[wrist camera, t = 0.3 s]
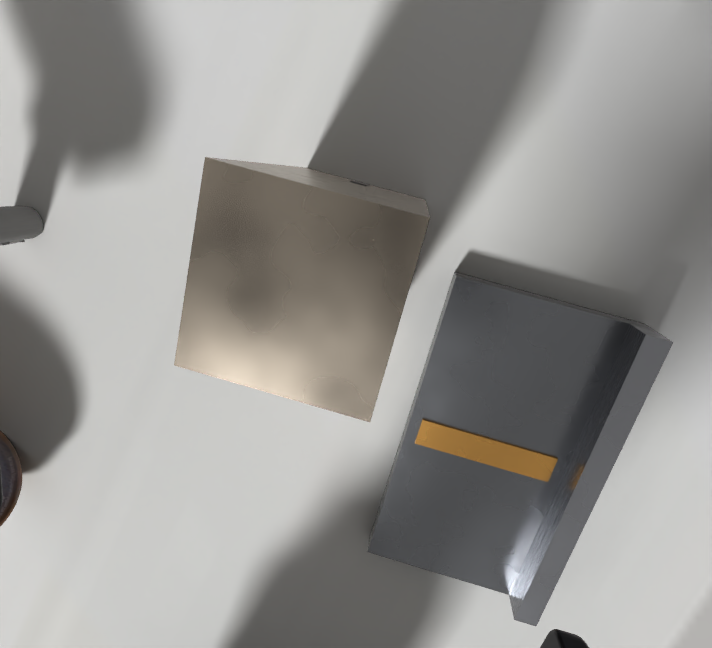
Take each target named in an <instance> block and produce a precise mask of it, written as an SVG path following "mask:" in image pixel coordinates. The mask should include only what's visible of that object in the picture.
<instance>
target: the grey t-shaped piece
mask: <svg viewBox="0 0 712 648" xmlns="http://www.w3.org/2000/svg"><path fill="white" fill-rule="evenodd" d="M42 231H43V222H42V219H41V217H40V215H39V214H38V213H37V211H36V210H34V209H33V208H31V207H26V206H6V207H0V245H6V244H13V243H17V242H25V241H24V239H30V238H34V237H36V236H38V235H39V234H41V233H42Z"/></svg>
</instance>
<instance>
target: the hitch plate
mask: <svg viewBox="0 0 712 648" xmlns="http://www.w3.org/2000/svg"><path fill="white" fill-rule="evenodd" d="M672 344H673V342H672V341H670V340H669V339H667V338H666V337H664V336H663V335H661V334H660V333H658V332H656V331H655V330H653V329H652V328H650V327H649V326H647V325H645V324H643V323H640V322H636V321H632V320H629V319H625V318H621V317H618V316H614V315H610V314H607V313H603V312H599V311H596V310H592V309H588V308H585V307H581V306H577V305H574V304H570V303H566V302H563V301H559V300H556V299H552V298H548V297H545V296H541V295H537V294H534V293H530V292H526V291H523V290H519V289H515V288H512V287H508V286H504V285H501V284H497V283H493V282H490V281H486V280H482V279H479V278H475V277H471V276H468V275H464V274H460V273H457V272H454V275H453V279H452V282H451V285H450V288H449V291H448V294H447V297H446V300H445V304H444V307H443V310H442V313H441V316H440V319H439V322H438V325H437V329H436V332H435V335H434V338H433V341H432V344H431V347H430V350H429V354H428V357H427V360H426V363H425V366H424V369H423V372H422V375H421V379H420V382H419V385H418V388H417V391H416V394H415V397H414V400H413V404H412V407H411V410H410V413H409V416H408V419H407V422H406V425H405V429H404V432H403V435H402V438H401V441H400V444H399V447H398V450H397V454H396V457H395V460H394V463H393V466H392V469H391V472H390V475H389V479H388V482H387V485H386V488H385V491H384V494H383V497H382V500H381V504H380V507H379V510H378V513H377V516H376V519H375V522H374V525H373V529H372V532H371V535H370V538H369V546H368V552H370V553H373V554H376V555H380V556H383V557H386V558H390V559H393V560H396V561H399V562H403V563H406V564H409V565H413V566H416V567H419V568H423V569H426V570H429V571H432V572H436V573H439V574H442V575H446V576H449V577H452V578H456V579H459V580H462V581H465V582H469V583H472V584H475V585H479V586H482V587H485V588H489V589H492V590H495V591H498V592H502V593H505V594H508V595H509V597H510V602H511V606H512V611H513V616H514V620H517V621H520V622H524V623H527V624H530V625H533V626H537V624H538V621H539V619H540V617H541V615H542V613H543V611H544V609H545V607H546V605H547V603H548V601H549V599H550V597H551V594H552V592H553V590H554V588H555V586H556V584H557V582H558V580H559V578H560V576H561V574H562V572H563V570H564V568H565V565H566V563H567V561H568V559H569V557H570V555H571V553H572V551H573V549H574V547H575V545H576V543H577V541H578V538H579V536H580V534H581V532H582V530H583V528H584V526H585V524H586V522H587V520H588V518H589V516H590V514H591V512H592V509H593V507H594V505H595V503H596V501H597V499H598V497H599V495H600V493H601V491H602V489H603V487H604V485H605V483H606V480H607V478H608V476H609V474H610V472H611V470H612V468H613V466H614V464H615V462H616V460H617V458H618V456H619V453H620V451H621V449H622V447H623V445H624V443H625V441H626V439H627V437H628V435H629V433H630V431H631V429H632V427H633V424H634V422H635V420H636V418H637V416H638V414H639V412H640V410H641V408H642V406H643V404H644V402H645V400H646V398H647V395H648V393H649V391H650V389H651V387H652V385H653V383H654V381H655V379H656V377H657V375H658V373H659V371H660V368H661V366H662V364H663V362H664V360H665V358H666V356H667V354H668V352H669V350H670V348H671V346H672Z"/></svg>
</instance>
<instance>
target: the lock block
mask: <svg viewBox="0 0 712 648" xmlns="http://www.w3.org/2000/svg"><path fill="white" fill-rule="evenodd" d="M429 220H430V215H429V211H428V208H427V204H426V200H425V199H421V198H418V197H414V196H410V195H406V194H403V193H399V192H395V191H391V190H388V189H384V188H380V187H376V186H373V185H369V184H366V183H362V182H358V181H354V180H350V179H346V178H343V177H339V176H335V175H332V174H328V173H324V172H320V171H317V170H313V169H309V168H303V167H293V166H284V165H274V164H265V163H256V162H246V161H237V160H227V159H218V158H208V157H205V162H204V168H203V175H202V182H201V188H200V195H199V202H198V209H197V215H196V222H195V229H194V236H193V242H192V249H191V256H190V262H189V269H188V276H187V283H186V289H185V296H184V303H183V310H182V316H181V323H180V330H179V336H178V343H177V350H176V357H175V363H174V365H175V366H178V367H182V368H185V369H189V370H192V371H196V372H199V373H202V374H206V375H209V376H213V377H216V378H220V379H223V380H227V381H230V382H233V383H237V384H240V385H244V386H247V387H251V388H254V389H257V390H261V391H264V392H268V393H271V394H275V395H278V396H282V397H285V398H288V399H292V400H295V401H299V402H302V403H306V404H309V405H313V406H316V407H319V408H323V409H326V410H330V411H333V412H337V413H340V414H344V415H347V416H350V417H354V418H357V419H361V420H364V421H368V422H370V420H371V417H372V414H373V410H374V407H375V403H376V400H377V397H378V393H379V390H380V386H381V383H382V380H383V376H384V373H385V369H386V366H387V363H388V359H389V356H390V352H391V349H392V346H393V342H394V339H395V335H396V332H397V329H398V325H399V322H400V318H401V315H402V312H403V308H404V305H405V301H406V298H407V295H408V291H409V288H410V284H411V281H412V278H413V274H414V271H415V267H416V264H417V261H418V257H419V254H420V250H421V247H422V244H423V240H424V237H425V233H426V230H427V227H428V223H429Z"/></svg>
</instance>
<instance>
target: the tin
mask: <svg viewBox="0 0 712 648" xmlns="http://www.w3.org/2000/svg"><path fill="white" fill-rule="evenodd" d="M0 467H1V478H2V492H3V501H2V505H1V508H0V526H1V525H2V524H3V523H4V522H5V521H6V519H7V518H8V517H9V515H10V514H11V512H12V511H13V509H14V507H15V505H16V503H17V500H18V497H19V494H20V491H21V486H22V469H21V463H20V460H19V457H18V454H17V452H16V450H15V448H14V447H13V445H12V444H11V442H10V441H9V440H8V438H7V437H6V436H5V435H4V434H3V433H2V432H1V431H0Z"/></svg>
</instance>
